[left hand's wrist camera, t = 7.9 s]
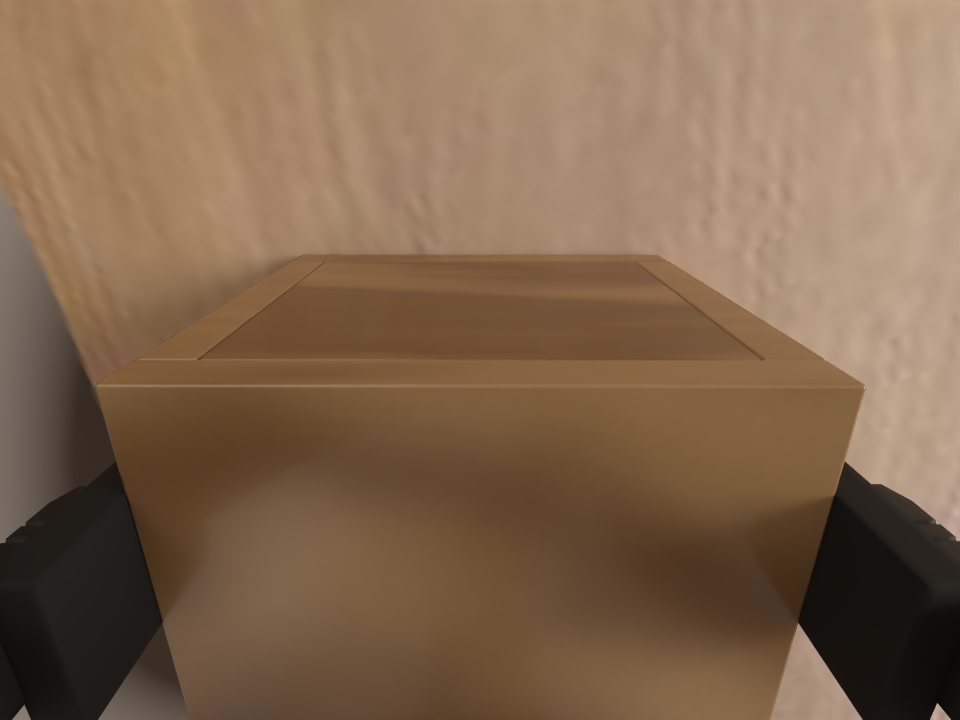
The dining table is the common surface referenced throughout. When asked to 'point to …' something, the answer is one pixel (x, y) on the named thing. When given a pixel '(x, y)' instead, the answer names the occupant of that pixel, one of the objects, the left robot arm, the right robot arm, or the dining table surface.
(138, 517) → the cabinet
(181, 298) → the dining table surface
